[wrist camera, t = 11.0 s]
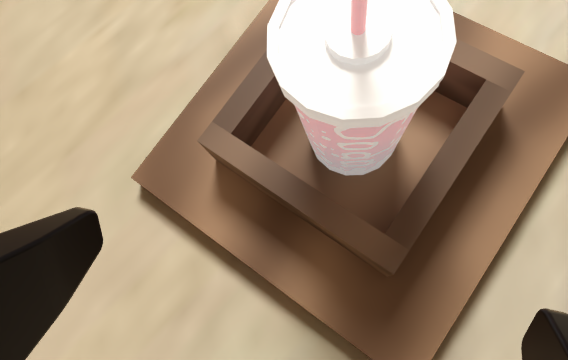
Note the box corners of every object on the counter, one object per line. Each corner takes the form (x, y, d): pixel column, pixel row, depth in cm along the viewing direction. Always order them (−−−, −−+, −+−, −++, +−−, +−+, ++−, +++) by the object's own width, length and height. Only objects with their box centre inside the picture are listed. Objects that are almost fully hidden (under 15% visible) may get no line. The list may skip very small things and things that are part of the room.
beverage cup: (286, 180, 22) (191, 0, 8) (307, 77, 23) (255, -218, 10) (403, 199, 20) (515, 25, 7) (418, 89, 22) (534, -227, 9)
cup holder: (588, 91, 22) (643, 46, 18) (408, 384, 19) (425, 408, 15) (312, -39, 27) (306, -98, 23) (140, 183, 24) (100, 161, 20)
